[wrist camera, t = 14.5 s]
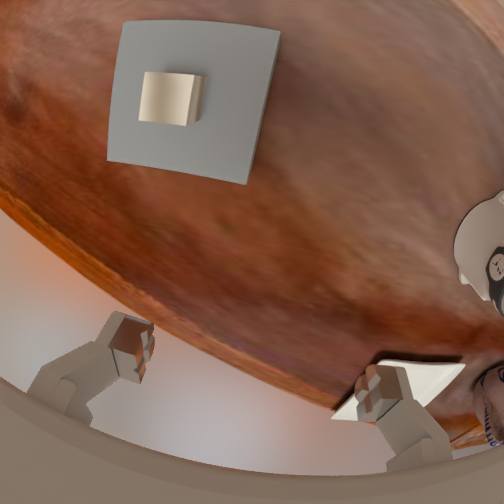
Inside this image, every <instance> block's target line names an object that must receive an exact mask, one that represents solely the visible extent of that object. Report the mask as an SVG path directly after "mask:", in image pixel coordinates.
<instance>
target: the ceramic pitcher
mask: <svg viewBox="0 0 504 504" xmlns="http://www.w3.org/2000/svg"><path fill="white" fill-rule="evenodd" d="M473 408H474V411H475V413H476V416H477V418H478V419H479V421H480V422H481V424H482V425H483V427H484V428H485V432H486V437H487V439H488V442H489V443H490V445H491V446H493V447H494V448H495V447H497V446H500V445H504V366H498V367H496V368H494V369H491V370H489V371H487V372H486V374H484V375H483V376H482V377H481V378H480V380H479V381H478V383H477V384H476V386H475V389H474V394H473Z"/></svg>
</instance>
